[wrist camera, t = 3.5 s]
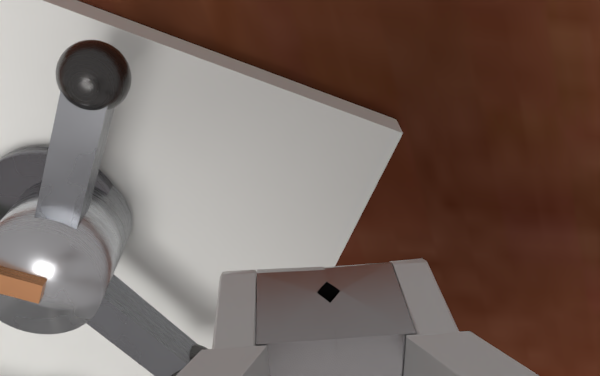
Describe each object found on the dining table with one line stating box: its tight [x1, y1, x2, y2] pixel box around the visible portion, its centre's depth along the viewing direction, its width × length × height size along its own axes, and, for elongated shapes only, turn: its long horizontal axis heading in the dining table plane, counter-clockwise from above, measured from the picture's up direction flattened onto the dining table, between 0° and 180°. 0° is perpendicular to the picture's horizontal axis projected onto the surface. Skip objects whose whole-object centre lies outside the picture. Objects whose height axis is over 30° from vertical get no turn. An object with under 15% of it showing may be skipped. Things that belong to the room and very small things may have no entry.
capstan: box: [0, 40, 207, 376], centre depth 20 cm, size 15×13×5 cm
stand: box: [0, 0, 403, 376], centre depth 22 cm, size 22×21×10 cm
